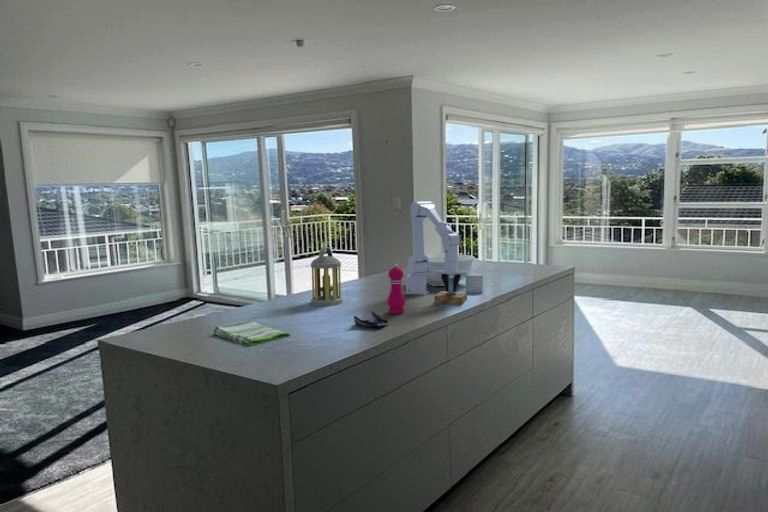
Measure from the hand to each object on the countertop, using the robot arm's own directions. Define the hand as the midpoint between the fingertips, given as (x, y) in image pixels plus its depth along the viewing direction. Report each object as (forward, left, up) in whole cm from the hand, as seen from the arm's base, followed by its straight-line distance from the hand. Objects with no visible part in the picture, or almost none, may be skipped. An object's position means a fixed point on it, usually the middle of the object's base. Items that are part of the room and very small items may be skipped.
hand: (451, 291), depth 243 cm
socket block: (0, 0, -5) cm, 5 cm away
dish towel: (-55, -73, -6) cm, 92 cm away
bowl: (-13, +42, -5) cm, 44 cm away
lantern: (-53, -15, -5) cm, 55 cm away
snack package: (-19, -49, -5) cm, 53 cm away
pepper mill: (-17, -26, -5) cm, 31 cm away
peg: (0, 0, -3) cm, 3 cm away
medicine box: (+6, +24, -5) cm, 25 cm away
